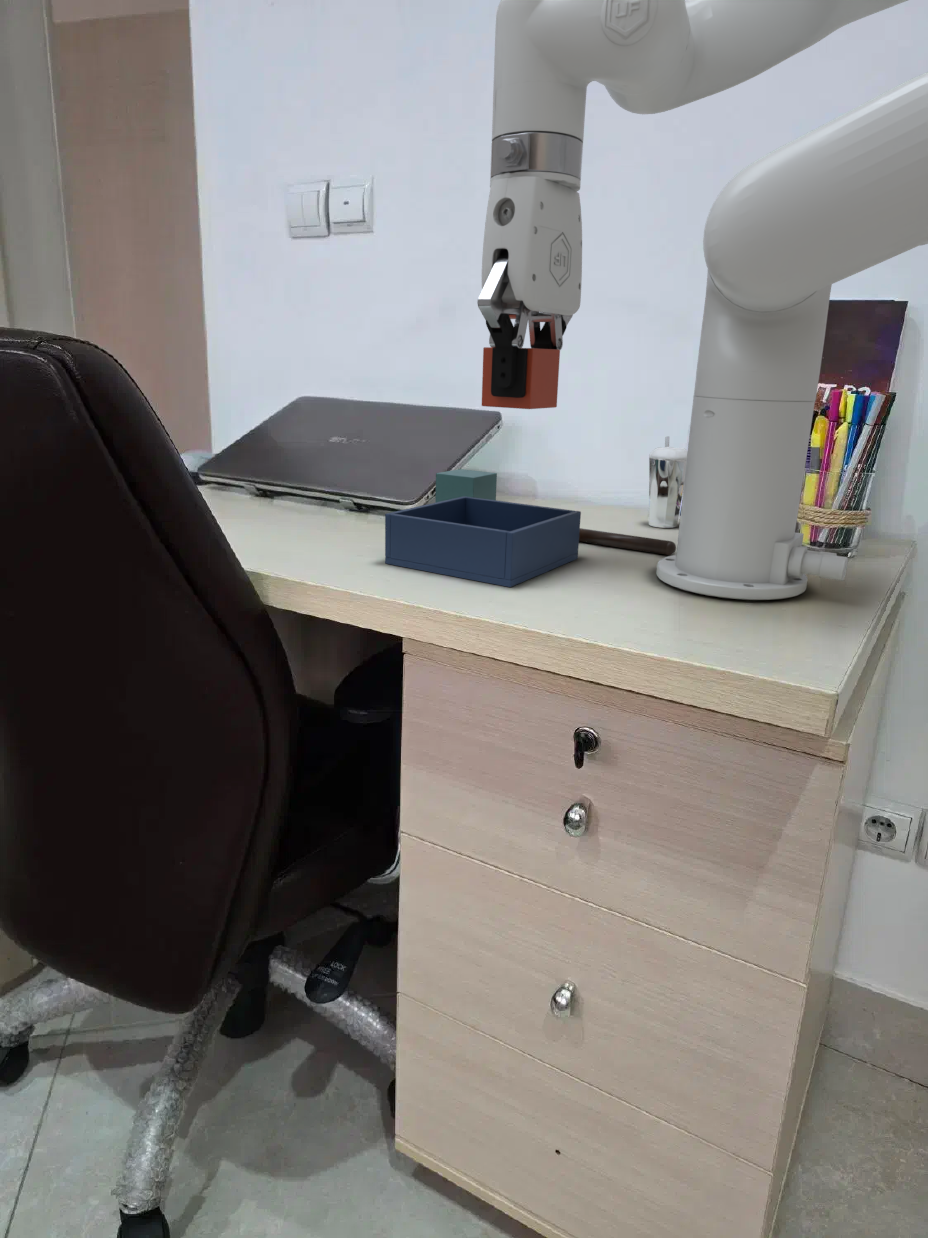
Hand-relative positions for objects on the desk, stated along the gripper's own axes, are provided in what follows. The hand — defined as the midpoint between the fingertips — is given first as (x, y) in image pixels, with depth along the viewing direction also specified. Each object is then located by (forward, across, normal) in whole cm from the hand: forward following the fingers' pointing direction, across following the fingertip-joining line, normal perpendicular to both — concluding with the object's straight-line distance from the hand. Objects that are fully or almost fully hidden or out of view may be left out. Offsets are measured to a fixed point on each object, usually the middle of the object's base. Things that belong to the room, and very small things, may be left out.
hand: (524, 393), depth 74 cm
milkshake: (+15, +27, -4) cm, 31 cm away
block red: (+1, 0, 0) cm, 1 cm away
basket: (+15, -2, +2) cm, 16 cm away
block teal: (+14, +11, +13) cm, 23 cm away
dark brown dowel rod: (+15, +12, +3) cm, 19 cm away
